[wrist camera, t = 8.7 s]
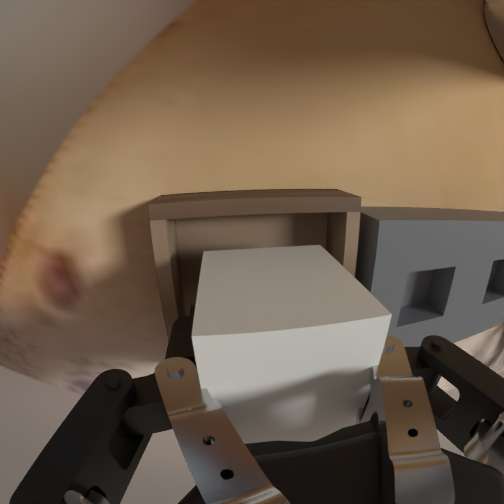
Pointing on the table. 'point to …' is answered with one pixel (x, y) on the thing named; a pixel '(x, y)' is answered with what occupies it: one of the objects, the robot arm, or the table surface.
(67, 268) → the table surface
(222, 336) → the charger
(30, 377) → the table surface
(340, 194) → the tray
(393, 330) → the power strip
